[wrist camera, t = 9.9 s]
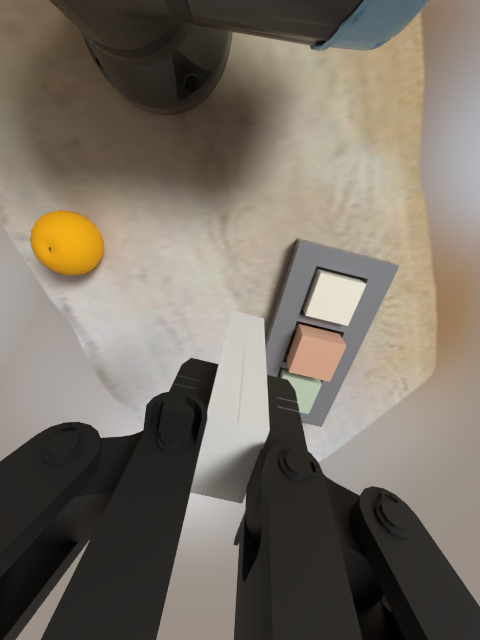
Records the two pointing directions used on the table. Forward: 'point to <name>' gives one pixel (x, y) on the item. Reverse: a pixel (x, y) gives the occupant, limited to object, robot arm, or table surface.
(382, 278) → the keypad board
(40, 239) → the yellow lemon
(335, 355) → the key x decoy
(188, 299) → the table surface
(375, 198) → the table surface
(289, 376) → the key
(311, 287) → the cream square block
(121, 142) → the table surface
